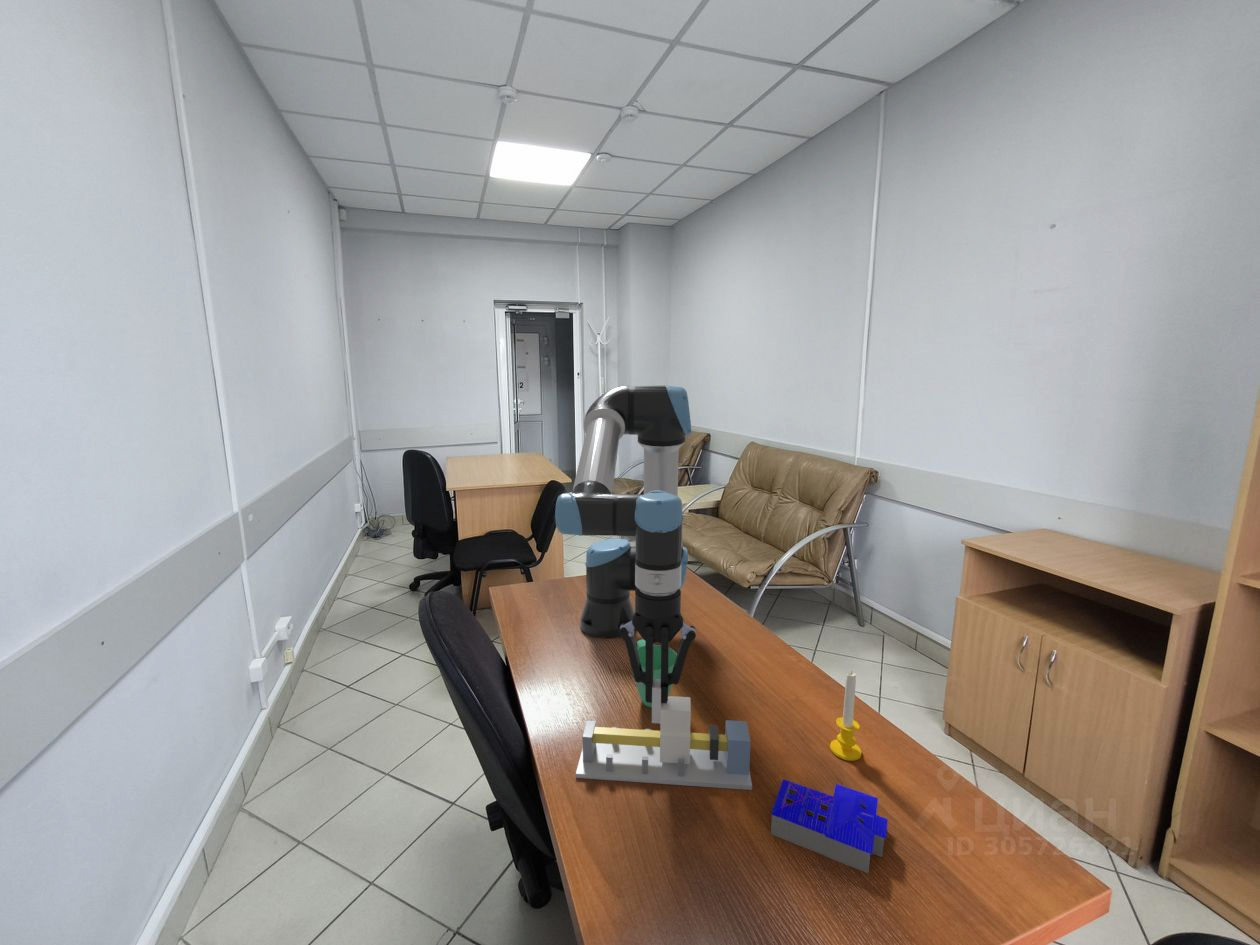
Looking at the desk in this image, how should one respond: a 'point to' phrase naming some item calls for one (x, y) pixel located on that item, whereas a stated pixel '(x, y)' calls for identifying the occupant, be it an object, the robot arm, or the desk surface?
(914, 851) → the desk surface
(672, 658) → the mug
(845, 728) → the candle
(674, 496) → the robot arm
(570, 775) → the desk surface
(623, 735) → the comb rig
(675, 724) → the sleeve
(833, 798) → the house
